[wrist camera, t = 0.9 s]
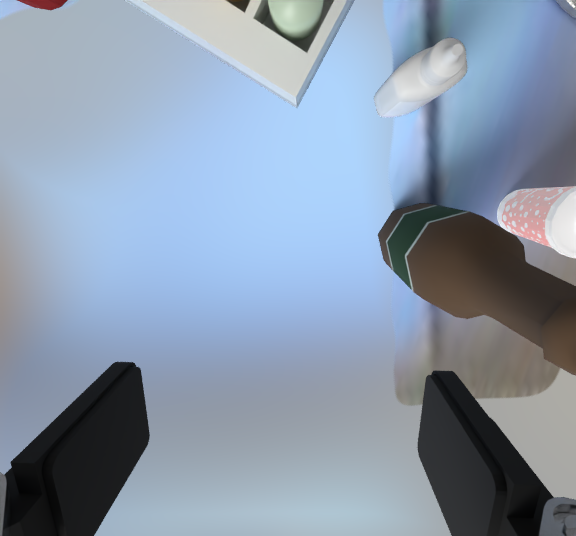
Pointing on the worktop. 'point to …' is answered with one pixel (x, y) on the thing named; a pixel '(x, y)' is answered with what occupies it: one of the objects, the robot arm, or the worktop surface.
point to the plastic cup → (44, 3)
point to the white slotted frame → (252, 39)
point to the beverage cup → (542, 216)
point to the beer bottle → (481, 275)
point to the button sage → (296, 17)
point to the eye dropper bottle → (422, 78)
